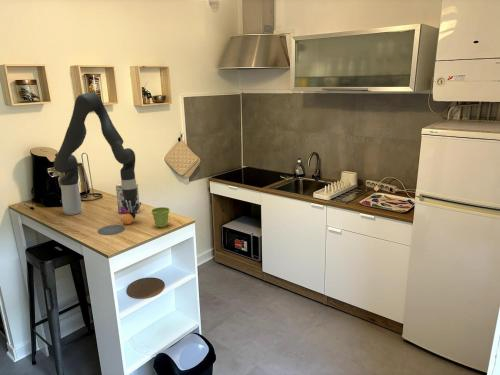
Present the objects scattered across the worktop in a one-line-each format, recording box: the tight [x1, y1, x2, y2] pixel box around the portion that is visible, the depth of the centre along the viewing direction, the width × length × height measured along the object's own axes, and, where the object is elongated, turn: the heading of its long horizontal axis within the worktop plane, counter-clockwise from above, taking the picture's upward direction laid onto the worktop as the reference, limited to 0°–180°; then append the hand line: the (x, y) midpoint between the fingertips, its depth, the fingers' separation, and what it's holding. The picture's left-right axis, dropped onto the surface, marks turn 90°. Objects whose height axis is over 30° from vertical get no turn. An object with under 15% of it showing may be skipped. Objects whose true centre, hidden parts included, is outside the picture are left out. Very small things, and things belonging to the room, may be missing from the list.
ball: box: [121, 213, 134, 225], centre depth 198 cm, size 6×6×6 cm
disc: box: [97, 224, 126, 236], centre depth 191 cm, size 13×13×1 cm
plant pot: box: [150, 206, 171, 228], centre depth 195 cm, size 9×9×9 cm
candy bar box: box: [115, 183, 141, 215], centre depth 215 cm, size 11×5×16 cm, turn 84°
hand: (132, 218), depth 202 cm, fingers closed
